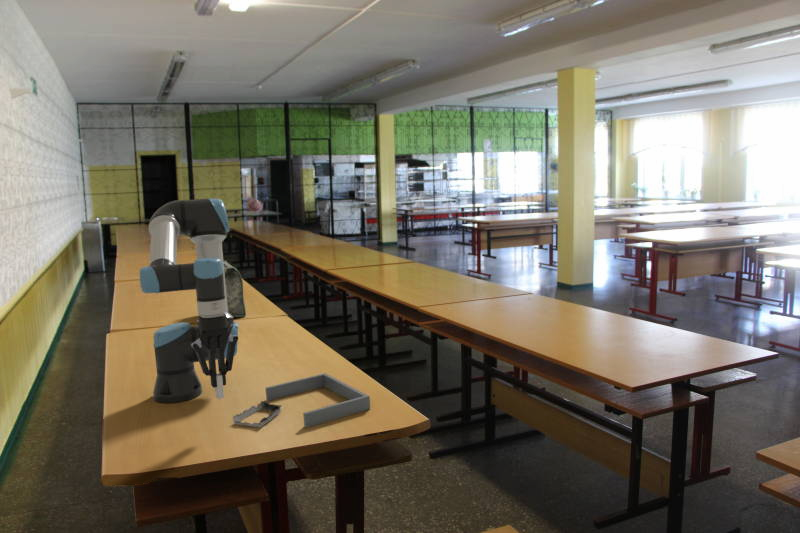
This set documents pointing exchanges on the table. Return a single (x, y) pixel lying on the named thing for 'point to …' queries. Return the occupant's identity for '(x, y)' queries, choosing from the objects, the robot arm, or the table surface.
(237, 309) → the bag
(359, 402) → the box
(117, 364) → the table surface
